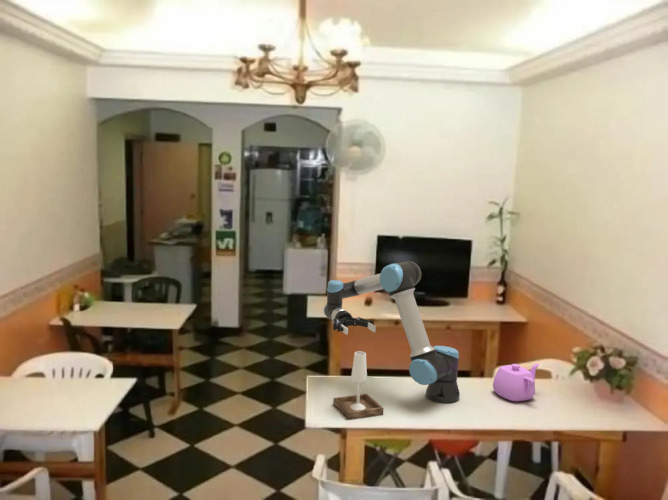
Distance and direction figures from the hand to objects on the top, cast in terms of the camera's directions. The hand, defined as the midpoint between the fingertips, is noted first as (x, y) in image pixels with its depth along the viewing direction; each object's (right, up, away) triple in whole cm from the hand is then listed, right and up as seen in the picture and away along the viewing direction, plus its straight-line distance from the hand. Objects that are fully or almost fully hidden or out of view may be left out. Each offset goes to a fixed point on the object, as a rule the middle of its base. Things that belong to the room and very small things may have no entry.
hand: (361, 330), depth 272 cm
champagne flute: (-2, -31, -11) cm, 33 cm away
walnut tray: (-2, -32, -11) cm, 34 cm away
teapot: (+71, -32, +11) cm, 79 cm away
